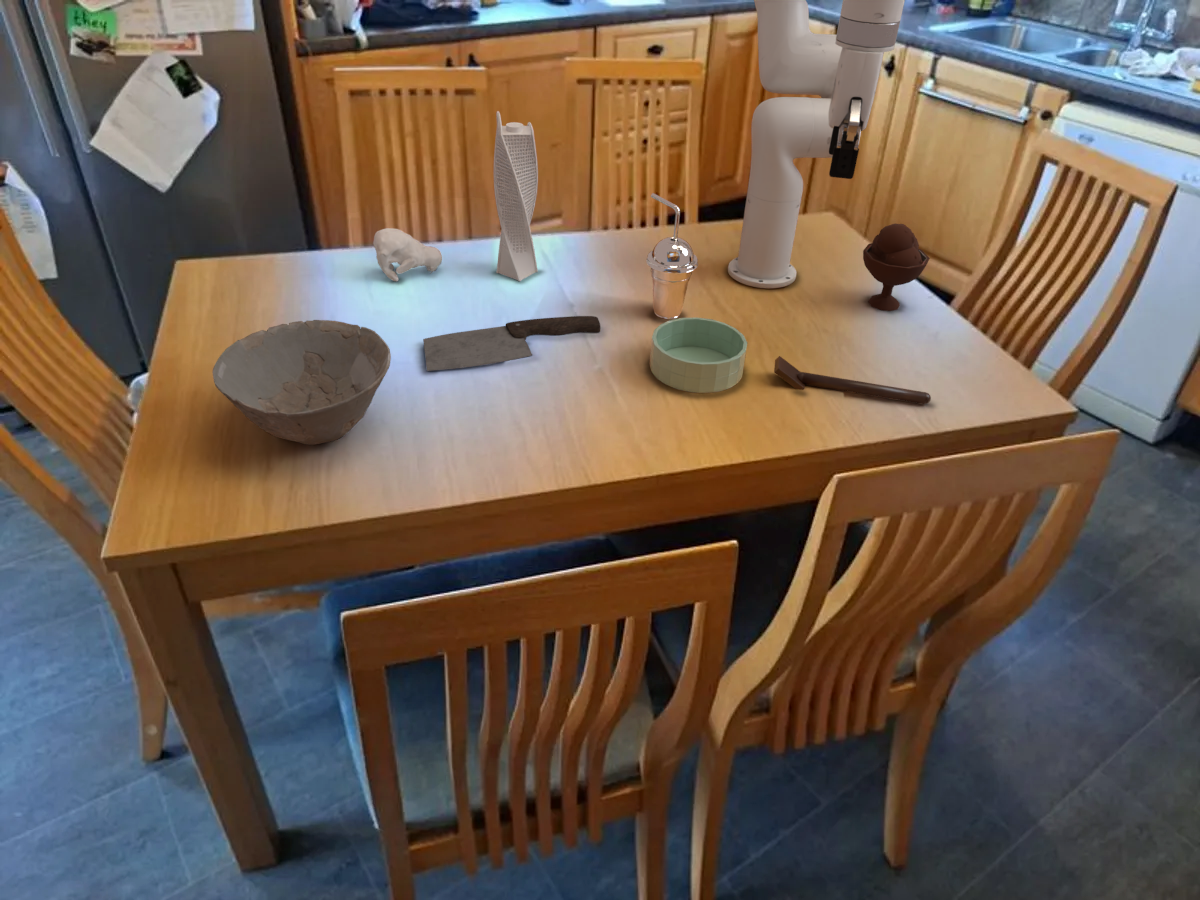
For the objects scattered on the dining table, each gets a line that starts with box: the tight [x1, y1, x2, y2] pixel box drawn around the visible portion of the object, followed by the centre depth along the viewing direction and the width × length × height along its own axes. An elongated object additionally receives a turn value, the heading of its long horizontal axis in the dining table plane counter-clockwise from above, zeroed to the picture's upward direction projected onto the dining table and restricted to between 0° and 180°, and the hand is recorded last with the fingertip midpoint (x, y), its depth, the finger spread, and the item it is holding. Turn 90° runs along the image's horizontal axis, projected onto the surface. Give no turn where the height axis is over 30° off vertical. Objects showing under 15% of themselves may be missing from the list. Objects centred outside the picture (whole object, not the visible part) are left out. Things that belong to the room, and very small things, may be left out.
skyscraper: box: [493, 110, 539, 282], centre depth 154 cm, size 8×8×28 cm
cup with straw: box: [645, 192, 699, 320], centre depth 145 cm, size 8×9×20 cm
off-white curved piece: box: [372, 227, 443, 283], centre depth 157 cm, size 6×8×12 cm
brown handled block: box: [773, 355, 932, 405], centre depth 132 cm, size 21×4×11 cm
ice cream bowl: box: [862, 223, 930, 312], centre depth 153 cm, size 11×11×15 cm
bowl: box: [649, 316, 748, 394], centre depth 135 cm, size 14×14×6 cm
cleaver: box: [422, 315, 601, 372], centre depth 140 cm, size 30×10×2 cm, turn 110°
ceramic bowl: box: [212, 319, 392, 446], centre depth 118 cm, size 22×23×10 cm
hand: (840, 165), depth 124 cm, fingers open, 9 cm apart
